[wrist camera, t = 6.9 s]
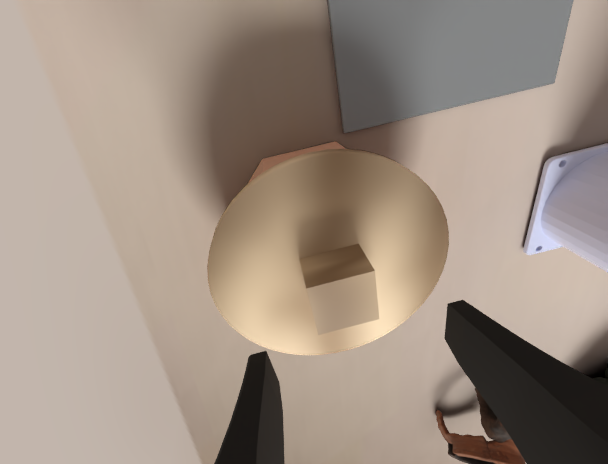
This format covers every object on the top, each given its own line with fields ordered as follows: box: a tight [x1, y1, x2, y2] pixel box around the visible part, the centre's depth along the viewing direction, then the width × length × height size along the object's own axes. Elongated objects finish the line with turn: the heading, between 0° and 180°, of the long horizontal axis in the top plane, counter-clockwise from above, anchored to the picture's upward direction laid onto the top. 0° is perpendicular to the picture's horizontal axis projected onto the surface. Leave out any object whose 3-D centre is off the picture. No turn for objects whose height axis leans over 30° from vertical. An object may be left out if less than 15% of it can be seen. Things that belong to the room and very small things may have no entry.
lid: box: [207, 149, 449, 355], centre depth 14 cm, size 12×12×3 cm
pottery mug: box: [436, 388, 525, 464], centre depth 32 cm, size 12×10×8 cm
